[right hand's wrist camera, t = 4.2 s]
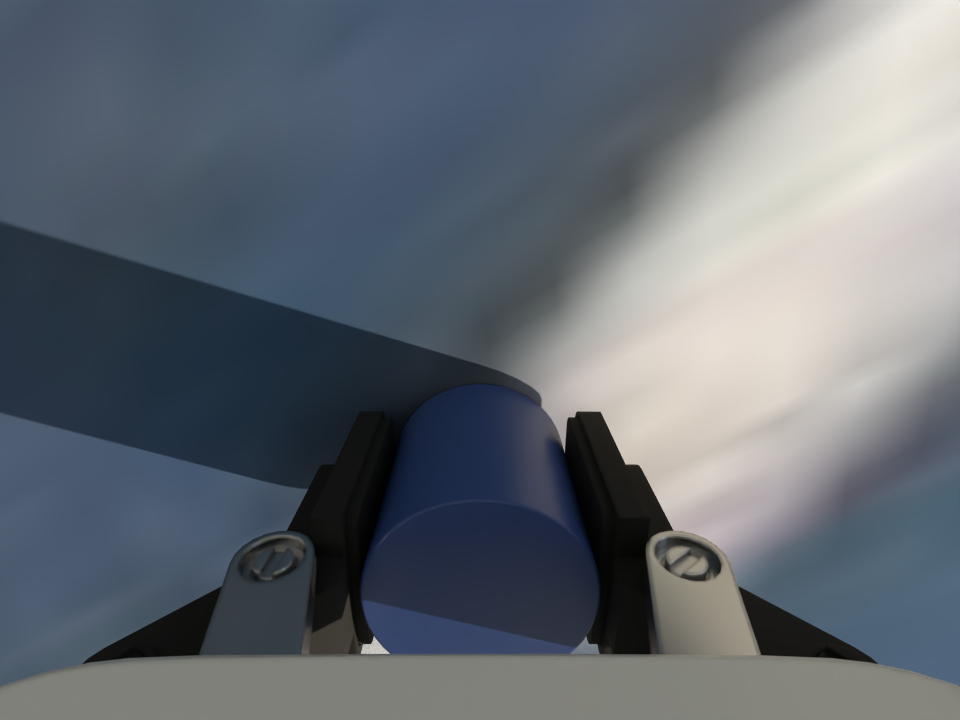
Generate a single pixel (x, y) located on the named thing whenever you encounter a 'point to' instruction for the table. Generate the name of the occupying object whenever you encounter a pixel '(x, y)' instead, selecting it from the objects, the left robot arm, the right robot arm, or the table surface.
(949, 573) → the table surface
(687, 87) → the table surface
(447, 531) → the canister
